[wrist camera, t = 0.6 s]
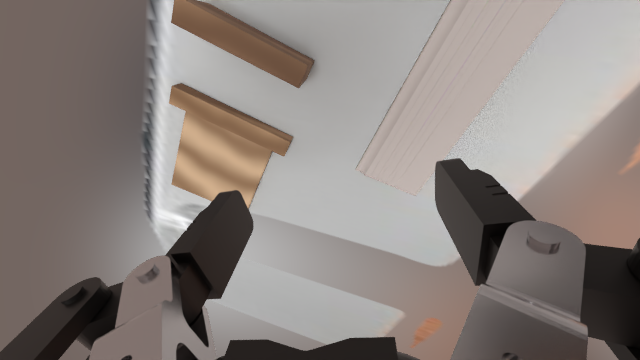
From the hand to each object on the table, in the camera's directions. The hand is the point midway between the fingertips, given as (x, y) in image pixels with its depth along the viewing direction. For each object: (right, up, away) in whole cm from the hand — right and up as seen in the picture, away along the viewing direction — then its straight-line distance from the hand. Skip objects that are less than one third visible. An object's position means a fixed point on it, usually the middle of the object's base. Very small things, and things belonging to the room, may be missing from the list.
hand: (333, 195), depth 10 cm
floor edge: (-16, +4, +30) cm, 34 cm away
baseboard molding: (+15, +13, +22) cm, 30 cm away
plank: (-8, +18, +21) cm, 29 cm away
